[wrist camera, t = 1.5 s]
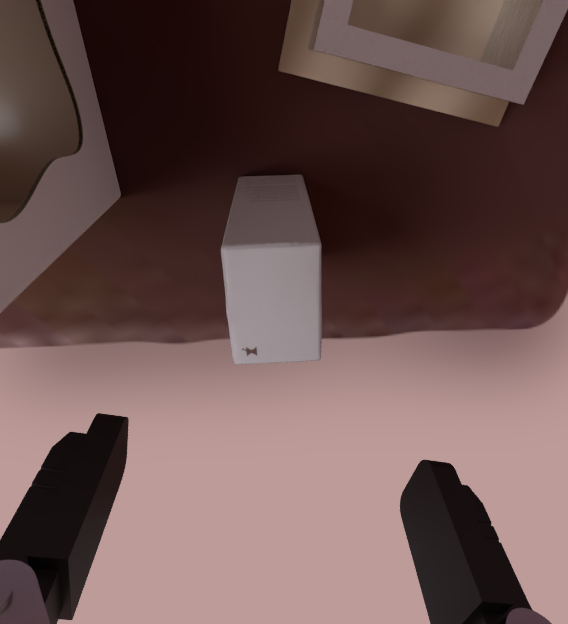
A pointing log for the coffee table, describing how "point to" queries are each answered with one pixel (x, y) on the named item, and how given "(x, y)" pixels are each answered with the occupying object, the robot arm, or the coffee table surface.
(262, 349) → the skincare box
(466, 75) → the duct collar
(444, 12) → the birch board
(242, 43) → the coffee table surface
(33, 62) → the gable box
